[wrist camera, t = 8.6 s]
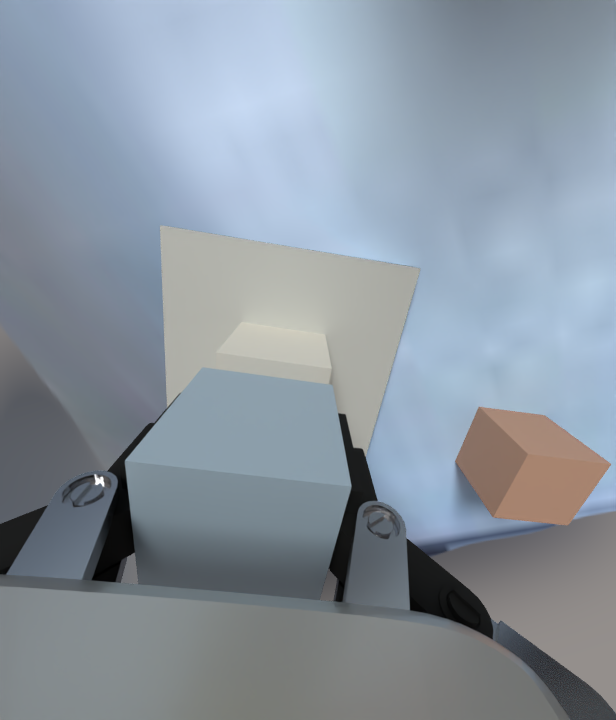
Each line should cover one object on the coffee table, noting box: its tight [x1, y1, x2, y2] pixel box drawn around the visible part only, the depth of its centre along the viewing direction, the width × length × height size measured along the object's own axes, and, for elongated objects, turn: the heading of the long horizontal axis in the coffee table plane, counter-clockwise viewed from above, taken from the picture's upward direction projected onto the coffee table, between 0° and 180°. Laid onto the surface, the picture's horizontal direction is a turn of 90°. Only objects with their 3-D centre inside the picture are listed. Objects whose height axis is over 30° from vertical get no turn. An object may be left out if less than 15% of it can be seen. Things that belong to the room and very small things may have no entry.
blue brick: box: [125, 367, 352, 600], centre depth 10 cm, size 5×5×5 cm
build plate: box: [160, 226, 420, 457], centre depth 18 cm, size 14×14×1 cm
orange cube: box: [455, 407, 611, 525], centre depth 19 cm, size 5×5×5 cm
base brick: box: [216, 322, 332, 384], centre depth 16 cm, size 5×5×5 cm
